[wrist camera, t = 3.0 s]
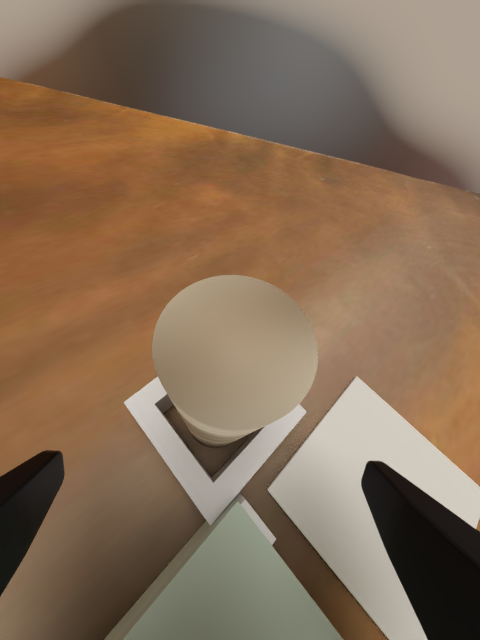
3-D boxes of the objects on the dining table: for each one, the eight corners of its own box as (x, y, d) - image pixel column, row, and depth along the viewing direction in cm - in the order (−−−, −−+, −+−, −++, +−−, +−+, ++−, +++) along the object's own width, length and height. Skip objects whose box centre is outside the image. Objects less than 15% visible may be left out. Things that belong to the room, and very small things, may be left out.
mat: (482, 493, 17) (487, 493, 16) (420, 679, 12) (425, 683, 12) (354, 377, 20) (356, 376, 20) (266, 489, 15) (267, 490, 15)
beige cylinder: (254, 417, 17) (348, 347, 6) (212, 461, 16) (233, 478, 4) (218, 376, 18) (241, 254, 7) (175, 414, 17) (117, 329, 5)
